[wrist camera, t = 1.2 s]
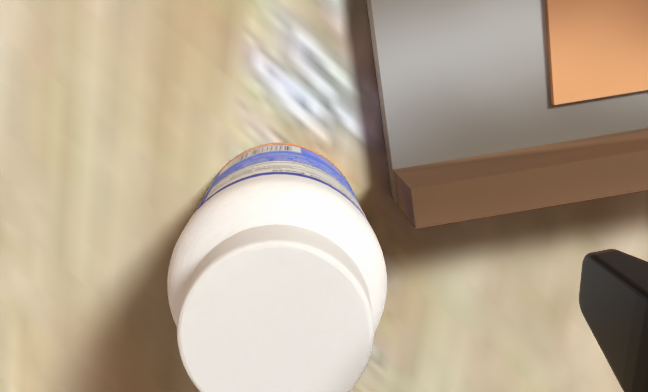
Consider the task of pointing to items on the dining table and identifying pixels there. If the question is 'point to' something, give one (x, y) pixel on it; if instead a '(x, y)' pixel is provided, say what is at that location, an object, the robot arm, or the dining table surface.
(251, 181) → the pill bottle
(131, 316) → the dining table surface
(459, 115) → the corner arena
